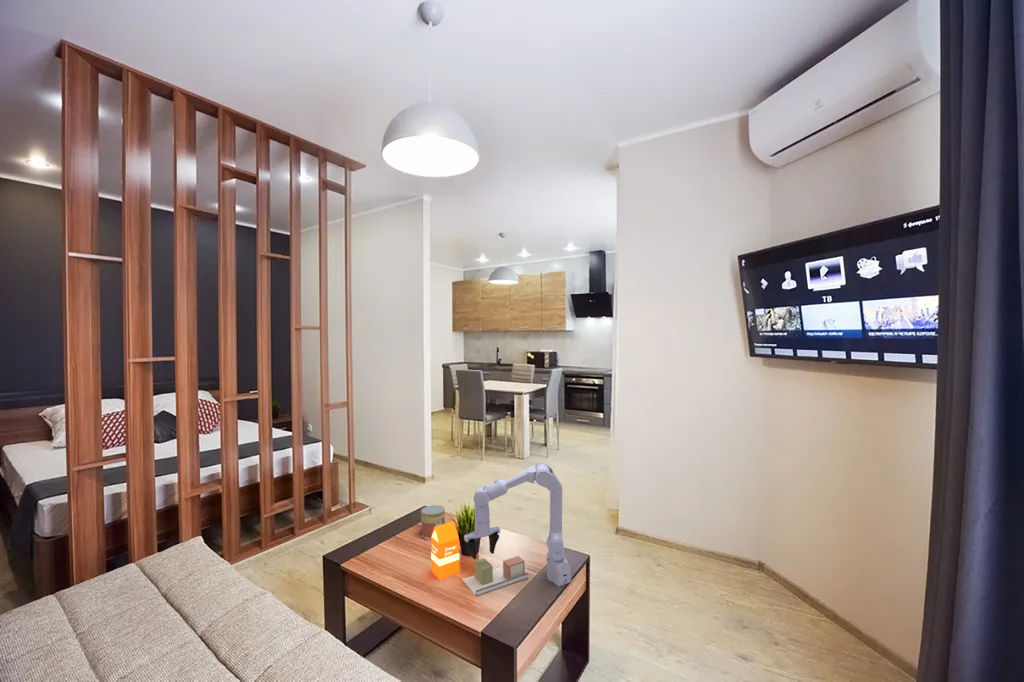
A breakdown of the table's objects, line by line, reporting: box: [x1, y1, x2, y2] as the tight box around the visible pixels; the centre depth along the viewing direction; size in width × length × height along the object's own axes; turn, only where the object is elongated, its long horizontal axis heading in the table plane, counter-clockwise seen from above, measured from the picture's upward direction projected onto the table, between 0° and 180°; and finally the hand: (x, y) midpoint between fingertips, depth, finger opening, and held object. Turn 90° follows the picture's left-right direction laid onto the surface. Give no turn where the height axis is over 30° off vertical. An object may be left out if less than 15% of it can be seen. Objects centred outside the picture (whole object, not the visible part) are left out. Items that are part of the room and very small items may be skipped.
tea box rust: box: [502, 555, 526, 580], centre depth 166 cm, size 5×7×6 cm
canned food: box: [420, 504, 446, 538], centre depth 207 cm, size 11×11×12 cm
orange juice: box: [430, 520, 461, 580], centre depth 170 cm, size 8×9×20 cm
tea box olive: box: [473, 557, 494, 585], centre depth 164 cm, size 5×7×6 cm
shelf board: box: [462, 565, 529, 597], centre depth 165 cm, size 13×22×2 cm, turn 120°
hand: (483, 555), depth 165 cm, fingers open, 7 cm apart
